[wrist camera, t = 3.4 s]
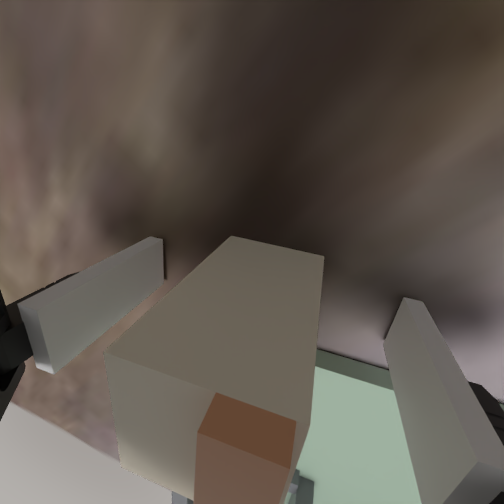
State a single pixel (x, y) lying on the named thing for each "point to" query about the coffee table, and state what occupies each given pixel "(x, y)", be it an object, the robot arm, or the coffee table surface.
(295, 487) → the header
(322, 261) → the plug
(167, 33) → the coffee table surface
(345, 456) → the board
